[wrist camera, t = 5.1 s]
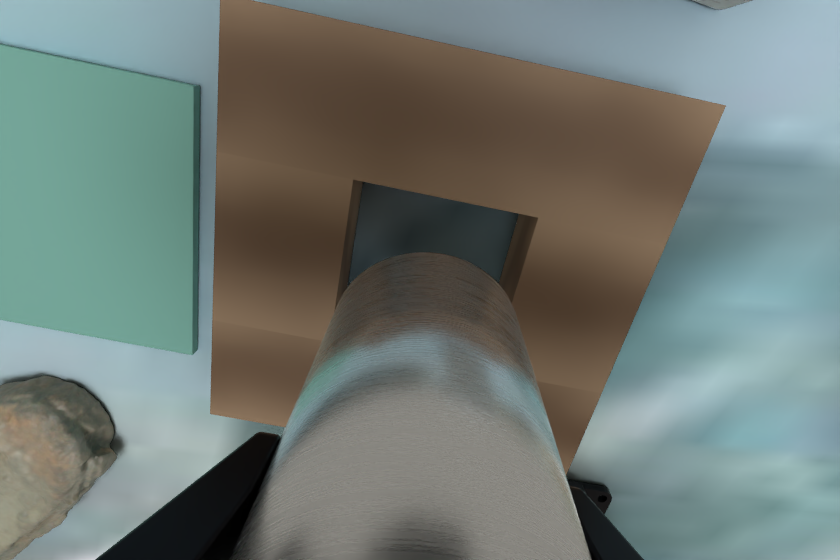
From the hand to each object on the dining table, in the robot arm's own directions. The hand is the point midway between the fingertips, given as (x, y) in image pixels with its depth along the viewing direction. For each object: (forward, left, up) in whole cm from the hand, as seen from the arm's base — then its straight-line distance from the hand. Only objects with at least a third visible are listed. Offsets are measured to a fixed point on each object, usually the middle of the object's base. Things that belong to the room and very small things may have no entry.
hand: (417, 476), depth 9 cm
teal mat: (-1, +16, -12) cm, 20 cm away
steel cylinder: (0, 0, -5) cm, 5 cm away
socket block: (0, 0, -12) cm, 12 cm away
